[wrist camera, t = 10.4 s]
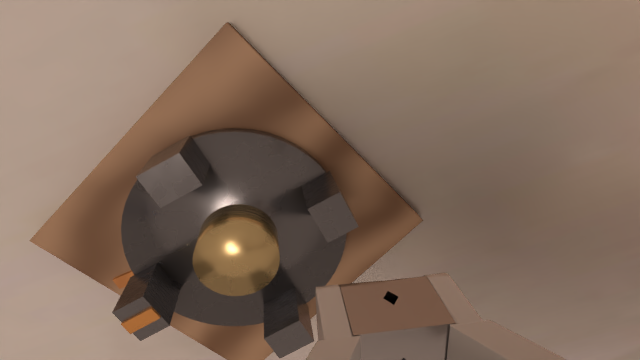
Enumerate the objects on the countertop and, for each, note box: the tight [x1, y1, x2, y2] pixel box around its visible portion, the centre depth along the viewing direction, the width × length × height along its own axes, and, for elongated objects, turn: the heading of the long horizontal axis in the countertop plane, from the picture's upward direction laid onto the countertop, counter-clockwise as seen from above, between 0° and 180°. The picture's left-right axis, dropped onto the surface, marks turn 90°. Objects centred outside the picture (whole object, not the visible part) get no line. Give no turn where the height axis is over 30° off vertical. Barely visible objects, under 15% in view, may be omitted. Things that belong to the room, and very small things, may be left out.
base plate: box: [30, 23, 423, 360], centre depth 32 cm, size 22×22×2 cm
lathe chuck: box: [112, 128, 359, 358], centre depth 29 cm, size 17×17×5 cm
